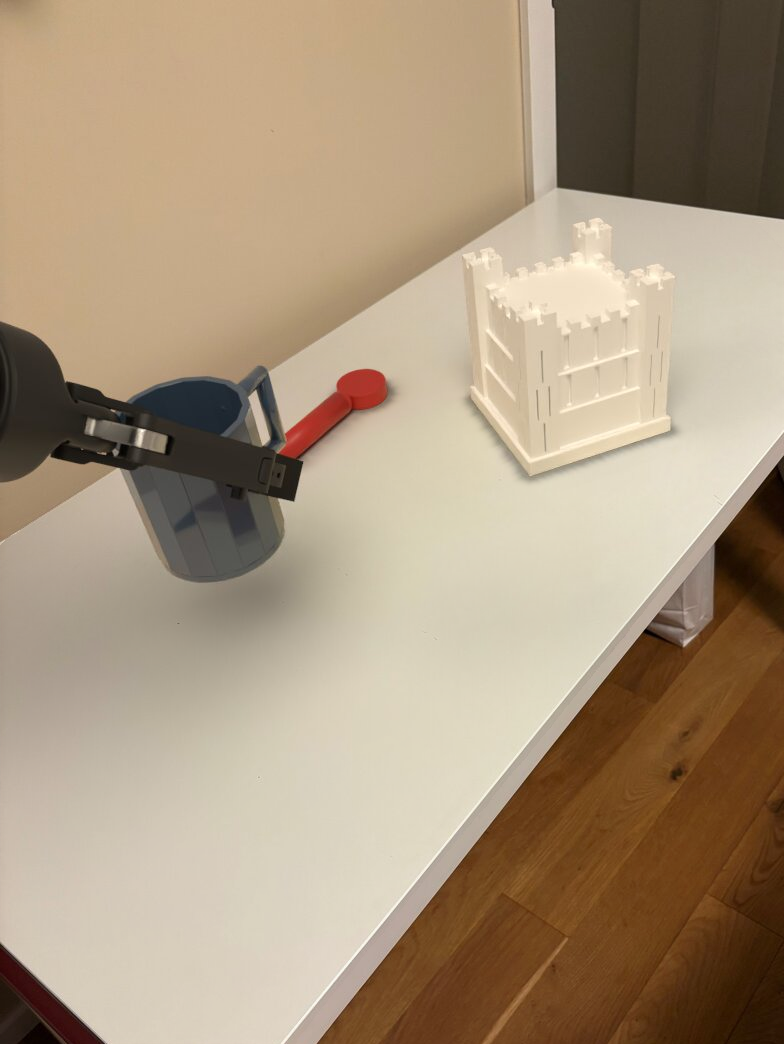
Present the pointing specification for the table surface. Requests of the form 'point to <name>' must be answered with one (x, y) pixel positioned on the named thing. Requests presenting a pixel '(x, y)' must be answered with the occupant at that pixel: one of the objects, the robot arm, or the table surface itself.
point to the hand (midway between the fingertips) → (235, 466)
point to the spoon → (336, 408)
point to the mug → (208, 482)
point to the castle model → (569, 351)
